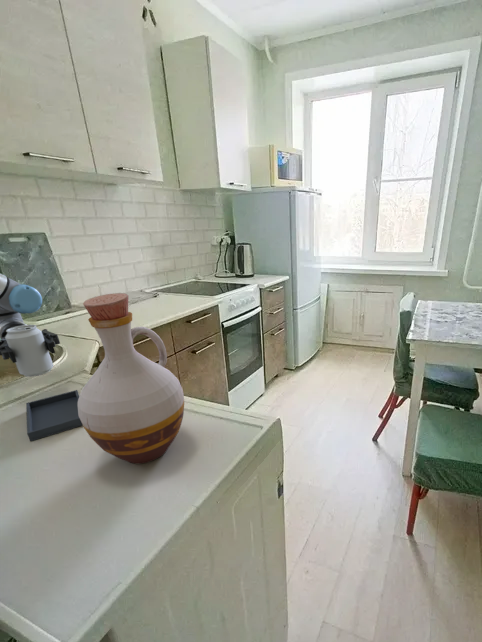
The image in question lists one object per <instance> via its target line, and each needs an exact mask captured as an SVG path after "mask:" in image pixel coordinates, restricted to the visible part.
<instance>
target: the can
mask: <svg viewBox="0 0 482 642" xmlns="http://www.w3.org/2000/svg"><path fill="white" fill-rule="evenodd" d="M37 327H38V326H37V325H36V324H26V325H22V326H17V327H13V328H10V329H7V330H6V332H7V335H6V337H5V338H6V341H7V343H8V346H9V347H10V348H11V350H12V351H13V353H14V356H15V358H16V361H17V362H15V363H14V364H15V366H16V369H17V371H18V373H19V375H21V376H24V377H27V378H31V377H32V378H33V377H40V376H42V375H45V374H47V373H50V372H51V371H52V369H53V367H54V363H53V360H52V357H51V355H50V354H51V353H50V351H49V350H48V349H47V346H46V343H45V340H44V337H43V334H42V332H41V331H42V330H41V329H39V328H37Z"/></svg>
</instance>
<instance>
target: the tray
mask: <svg viewBox="0 0 482 642" xmlns="http://www.w3.org/2000/svg"><path fill="white" fill-rule="evenodd" d="M79 396H80V393H79V391H78V389H75V390H71V391H66V392H63V393H58V394H56V395H51V396H49V397H44V398H40V399H36V400H33V401H29V402H26V403H25V407H26V408H25V410H26V411H25V412H26V430H27V431H26V434H27V437H28V439H29V441H30V442H33V441H38V440H40V439H43V438H46V437H50V436H52V435H56V434H60V433H62V432H66V431H69V430H73V429H76V428H79V427H82V426H83V424H82V422H81V420H80V418H79V415H78V399H79Z"/></svg>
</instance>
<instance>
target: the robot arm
mask: <svg viewBox="0 0 482 642" xmlns="http://www.w3.org/2000/svg"><path fill="white" fill-rule="evenodd" d="M42 305H43V297H42V295H41V292H39V290H38V289H36V288H35V287H33V286H30V285H28V284H25V283H21V282H17V281H16V280H14V279H12V278H10V277H8V276H7V275H5V274H3V273H0V356H1V357H2V359H3V360H4V361H6V360H9V359H10V360H11V362H12V363H13V364H16V363H15V362H17V361H16V358H15V356H14V353H13V351H12V350H11V348H10V347H9V346H8V343H7V341H6V338H5V337H6V335H7V332H6V330H7V329H10V328H13V327H17V326H22V325H27V324H26V323H25V322H24V319H23V317H22V315H23V314H24V315H25V314H33V313H36V312H37V311H39V310H40V308H41V307H42ZM41 332H42V334H43V337H44V340H45V343H46V346H47V349H48V351H49V353H50V354H52V355H53V354H56V351H55V348H56V347H57V346H56V345H60V344H61V341H60V339H59V335H58V334H57V333H55V332H52V331H49V330H48V329H47V328H43V329H42V330H41Z"/></svg>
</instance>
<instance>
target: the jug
mask: <svg viewBox="0 0 482 642" xmlns="http://www.w3.org/2000/svg"><path fill="white" fill-rule="evenodd" d="M82 305H83V307H84V308H85V310H86V311H87V313H88V314H89V316H90V317H89V318H88V320H87V321H88V322H89V324H90V326H91V327H92V328H94V330H95V331H96V333H97V335H98V338H99V340H100V342H101V344H102V347H103V350H104V358H103V359H102V361H101V362H100V364H99V366H98V367H97V368H96V370H95V372H94V373H93V374H92V375H91V376H90V377H89V379H88V380H87V382H86V383H85V384H84V386H83V387H82V388H81V390H80V393H79V399H78V415H79V418H80V420H81V422H82V424H83V429H84V430H85V432H86V433H87V434H88V436H89V437H90V439H91V440H92V441H94V443H95V444H96V445H97V446H99V448H100V449H102V450H103V452H106V453H107V454H109V455H111V456H114V457H116V458H118V459H120V460H123V461H124V462H128V463H131V464H134V465H135V464H136V465H137V464H139V465H140V464H147V463H150V462H153V461H155V460H157V459H159V458H160V457H162V456H164V454H165V453H166V452H167V451H168V449H169V448H170V446H171V445H172V443H173V442H174V441H175V439H176V437H177V435H178V433H179V432H180V430H181V427H182V423H183V418H184V414H185V413H184V412H185V395H184V389H183V387H182V385H181V382H180V380H179V379H178V377H176V375H175V374H174V373H172V371H171V370H169V369H167V368H166V365H167V362H168V353H167V349H166V346H165V343H164V341H163V340H162V338H161V337H160V335H159V334H157V333H156V332H155V331H154V330H152V329H151V328H148V327H147V326H146V327H145V326H135V327H133V328H132V327H131V326H132V321H133V313H132V311H129V295H128V294H127V293H124V292H115V293H114V292H113V293H105V294H101V295H97V296H93V297H90V298H88V299H86V300H84V301H83V303H82ZM139 335H141V336H142V335H143V336H145V337H148V338H149V339H150V340H151V341H152V342H153V343H154V344H155V346H156V348H157V350H158V355H159V356H158V358H159V361H158V363H157V362H154V361H153V360H150V359H149V358H147V356H144V355H143V354H141V353H139V352H138V351H137V350H136V349H135V347H134V339H135V338H136V337H137V336H139Z"/></svg>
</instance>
